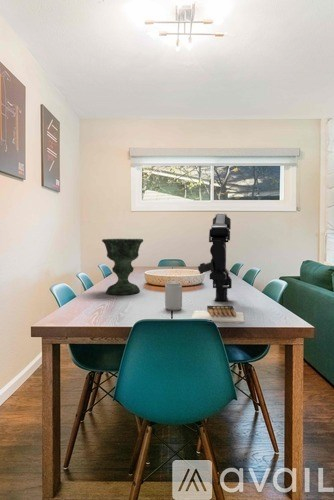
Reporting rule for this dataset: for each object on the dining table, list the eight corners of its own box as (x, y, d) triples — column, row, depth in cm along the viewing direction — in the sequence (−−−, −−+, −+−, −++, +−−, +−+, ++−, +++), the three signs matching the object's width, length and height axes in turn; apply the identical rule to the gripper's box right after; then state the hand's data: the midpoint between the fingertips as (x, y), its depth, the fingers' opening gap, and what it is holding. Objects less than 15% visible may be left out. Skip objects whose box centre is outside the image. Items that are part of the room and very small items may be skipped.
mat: (195, 311, 142) (195, 310, 142) (243, 313, 138) (243, 312, 138) (190, 320, 128) (190, 318, 128) (243, 323, 124) (243, 321, 124)
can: (166, 311, 143) (166, 283, 142) (163, 307, 150) (163, 281, 149) (183, 310, 144) (183, 283, 143) (179, 306, 151) (179, 280, 151)
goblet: (100, 290, 193) (100, 238, 192) (138, 288, 200) (138, 238, 198) (105, 297, 172) (104, 239, 171) (147, 294, 179) (147, 239, 178)
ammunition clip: (207, 309, 142) (210, 318, 130) (207, 305, 141) (210, 313, 129) (232, 310, 141) (237, 318, 130) (232, 305, 141) (238, 313, 129)
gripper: (201, 254, 146) (201, 289, 147) (196, 257, 128) (196, 297, 129) (227, 254, 144) (226, 290, 145) (225, 258, 126) (225, 298, 127)
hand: (218, 294), depth 137 cm, fingers closed
